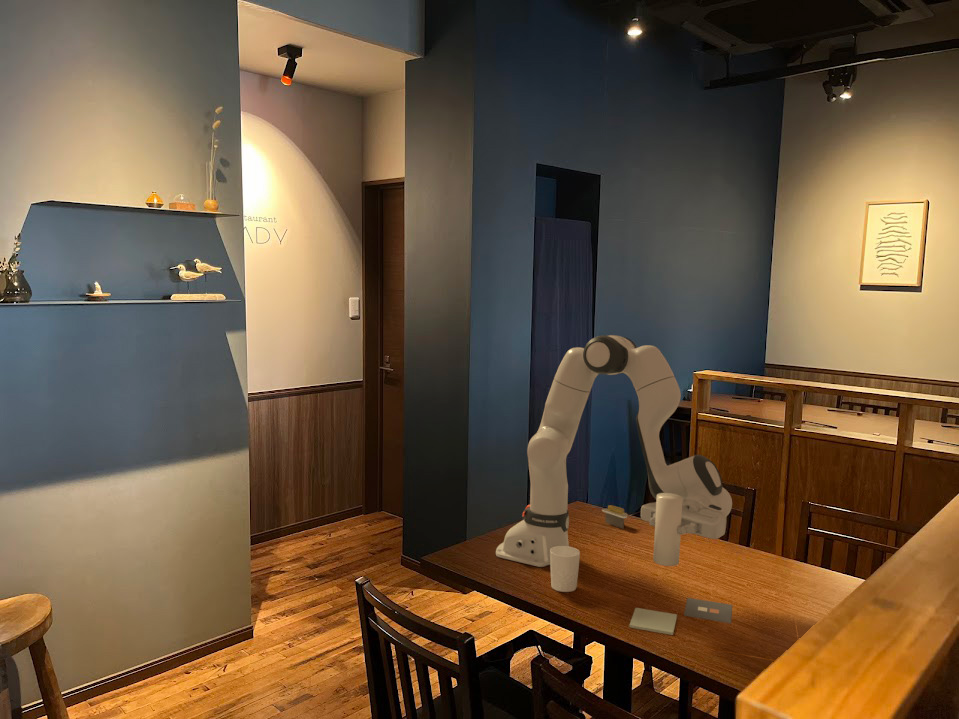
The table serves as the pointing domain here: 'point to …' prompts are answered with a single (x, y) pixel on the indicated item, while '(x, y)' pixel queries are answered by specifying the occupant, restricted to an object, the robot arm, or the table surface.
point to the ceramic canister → (667, 529)
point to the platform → (615, 516)
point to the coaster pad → (653, 621)
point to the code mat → (708, 610)
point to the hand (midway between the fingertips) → (666, 526)
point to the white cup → (564, 568)
